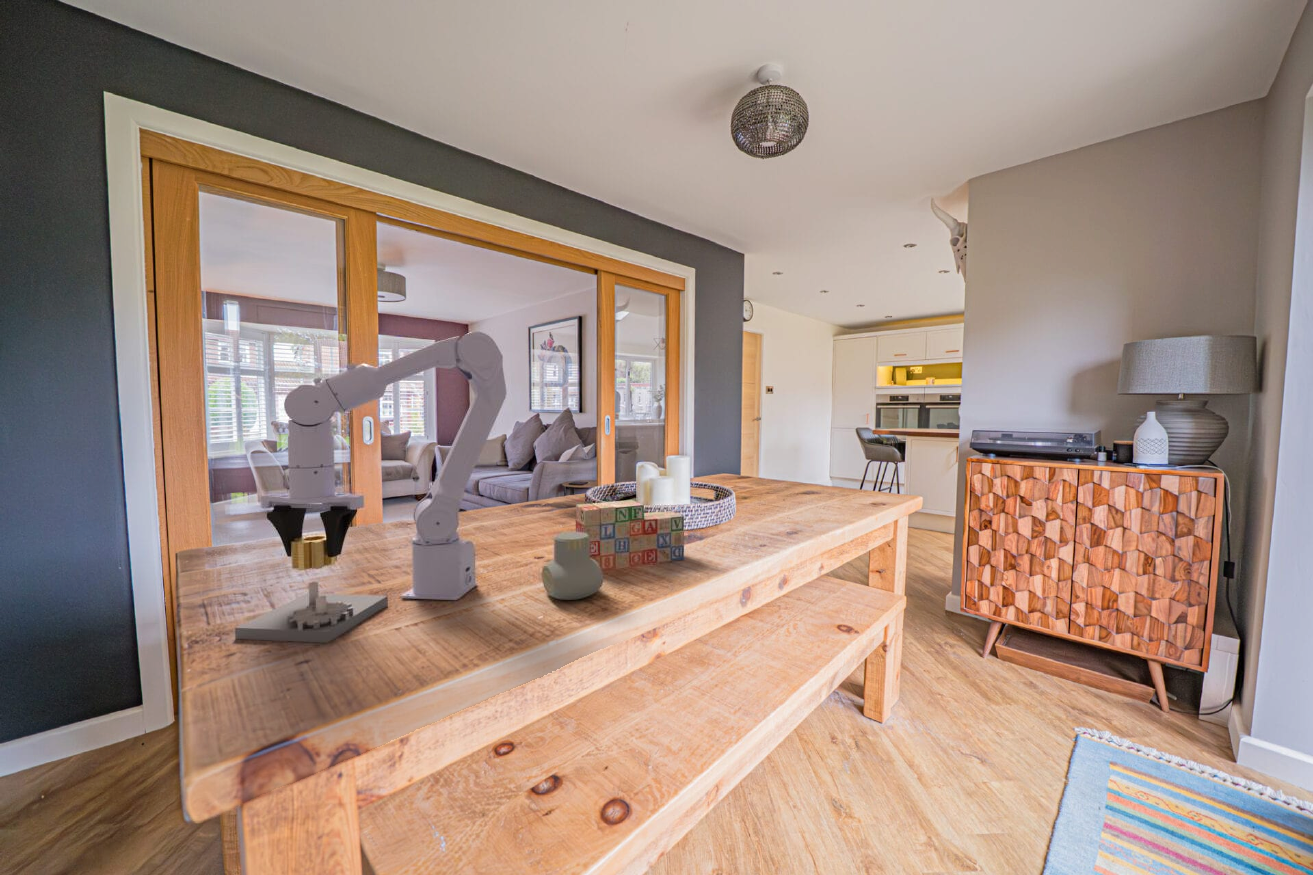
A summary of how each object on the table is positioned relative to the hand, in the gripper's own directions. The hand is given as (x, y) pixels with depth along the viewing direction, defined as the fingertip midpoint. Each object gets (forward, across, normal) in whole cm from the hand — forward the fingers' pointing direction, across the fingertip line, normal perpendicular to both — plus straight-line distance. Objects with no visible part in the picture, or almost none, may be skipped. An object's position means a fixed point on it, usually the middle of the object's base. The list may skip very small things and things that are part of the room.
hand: (314, 555), depth 77 cm
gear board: (+8, -3, +4) cm, 10 cm away
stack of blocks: (+9, -46, -27) cm, 54 cm away
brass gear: (+1, 0, 0) cm, 1 cm away
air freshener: (+9, -38, -8) cm, 40 cm away
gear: (+7, -6, +7) cm, 11 cm away
